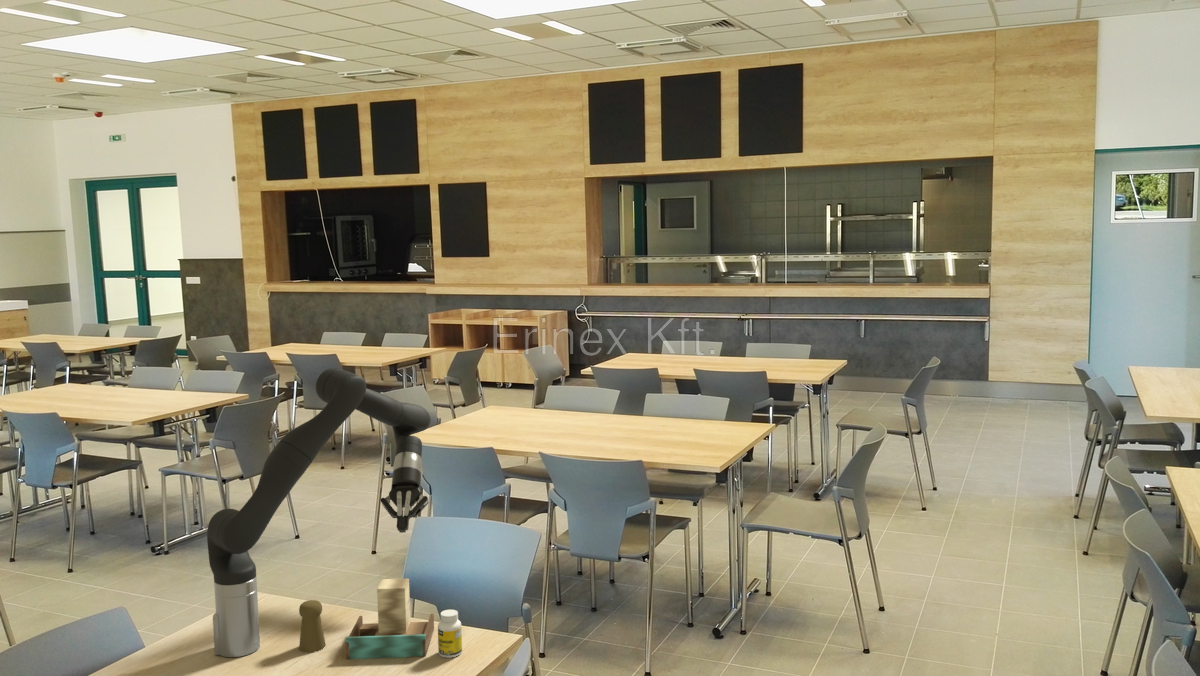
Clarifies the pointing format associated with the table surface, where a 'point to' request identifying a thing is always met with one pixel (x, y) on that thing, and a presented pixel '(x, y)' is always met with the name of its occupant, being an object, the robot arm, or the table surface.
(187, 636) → the table surface
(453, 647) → the supplement bottle
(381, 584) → the maple block
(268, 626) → the table surface
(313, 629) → the olive pawn
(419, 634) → the trap lane
